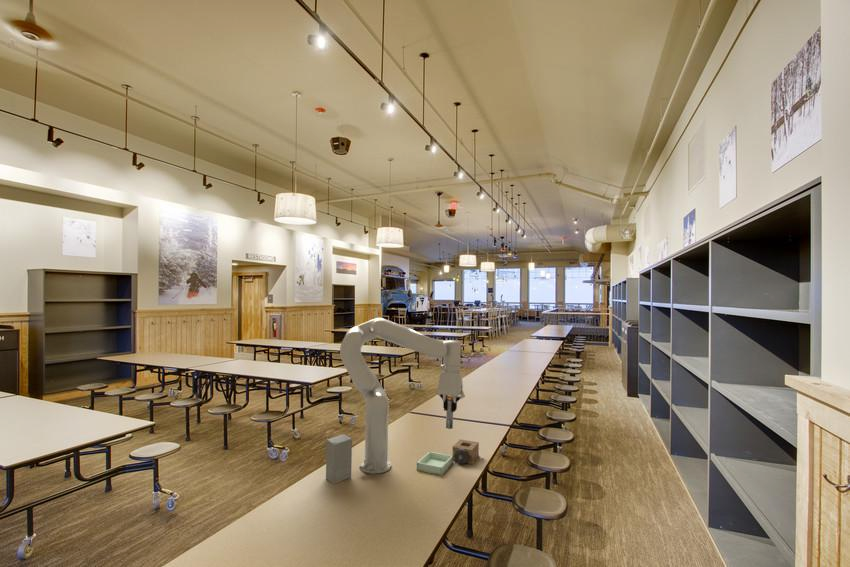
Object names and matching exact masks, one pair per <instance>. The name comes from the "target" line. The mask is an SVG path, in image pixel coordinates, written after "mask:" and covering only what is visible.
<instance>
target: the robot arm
mask: <svg viewBox="0 0 850 567" xmlns="http://www.w3.org/2000/svg"><path fill="white" fill-rule="evenodd" d="M375 339H381V340H383V341H385V342H386V341H387V342H390V343H392V344H395V345H398V346H400V347H402V348H405V349H408V350H412V351H414V352H417V353H420V354H423V355H425V356H428V357H430V358H433V359H438V360H440V359H443V360H442V362H443V363H442V364H440V365H439V368H440V369H441V371H440V374H439V380H438V388H437V390H436V395H438V396H439V397H440V398H441V400H442V402H443V405H442V406H443V407H442V408H443V411H444V412H445V411H446V412H447V399H446V396H453V403H452V412H453V413H455V412H456V411H457V408H458V406H457V404H458V402H459V400H461V399H464V398H465V397H466V394H465V393H464V389H463V386H464V384H463V374H462V371H461V353H462V351H461V349H462V343H461V342H460V340H456V339H455V340H453V339H452V340H451V339H450V340H442V339H438V338H437V339H436V338H433V337H430V336H428V335H425V334H422V333H420V332H419V331H416V330H414V329H412V328H410V327H408V326H405V325H402V324H400V323H397V322H393V321H391V320H389V319H386V318H384V317H375V318H373V319H370V320H368V321H365V322H363V323H360V324H358V325H356V326H353V327H351V328H349V329H348V330H347V332H346V334H345V335H344V338H343V339H342V341H341V344H340V347H339V348H340V349H339V355H340V359H341V362H342V364H343V366H344V367H345V369H346V371H347V373H348V376H349V377H350V378H351V381H352V383H353V385H354V387H355V388H356V390H358V391H359V393H360V395H361V396H362V399H363V400H364V402H365V403H364V404H365V425H364V431H365V436H364V442H365V443H364V460H363V462H362V463H361V464H360V466H359V471H361V472H364V473H367V474H373V475H375V474H383V473H386V472H389V471H390V470H391V468H392V463H391V461H389V458H388V454H389V453H388V452H389V451H388V450H389V449H388V446H389V445H388V444H389V443H388V442H389V411H390V402H389V398H388V396H387V393H386V392H385V390H384V388H383V386H382V384H381V383H380V381H379V379H378V378H377V376H376V373H375V372H374V370H373V369H372V368H371V367H369V365H368V363H367V361H366V359H365V358H364V356H363V354H362V348H363V346H364V344H366V343H368V342H370V341H372V340H375Z"/></svg>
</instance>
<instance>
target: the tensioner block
mask: <svg viewBox="0 0 850 567" xmlns="http://www.w3.org/2000/svg"><path fill="white" fill-rule="evenodd" d="M479 444H480V443H479V442H478V441H473V440H467V439H459V440H458V441H457V442H455V443H454V445H452V456H453V462H456V463H458V464H459V465H465V464H468V465H473V464H474V462H475V461H476V460H477V459H478V457H479V455H480V454H479V449H480V446H479Z"/></svg>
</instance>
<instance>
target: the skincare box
mask: <svg viewBox="0 0 850 567" xmlns="http://www.w3.org/2000/svg"><path fill="white" fill-rule="evenodd" d="M325 450H326V452H325V453H326V457H325V460H326V461H325V479H326V480H327V481H329V482H330V483H332V484H334V485H335V484H338V483H340V482H343V481H344V480H346V479H350V478H351V477H352V462H353V460H352V456H353V438H351V437H350V436H348V435H347V434H344V433H342V434H340V435H337V436H334V437H331V438H327V439H326V449H325Z"/></svg>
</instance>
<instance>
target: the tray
mask: <svg viewBox="0 0 850 567" xmlns="http://www.w3.org/2000/svg"><path fill="white" fill-rule="evenodd" d="M453 463H454V461H453V455H450V454H445V453H439V452H435V451H428V452H427V453H426V454H425V455H423V456H422V457H421V458H420V459H419V460H418V461H417V462H416V470H417V471H420V472H425V473H430V474H435V475H439V476H442V475H444V473H446V471H447V470H448V469H449V468H450V467H451V466H452V464H453Z"/></svg>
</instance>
